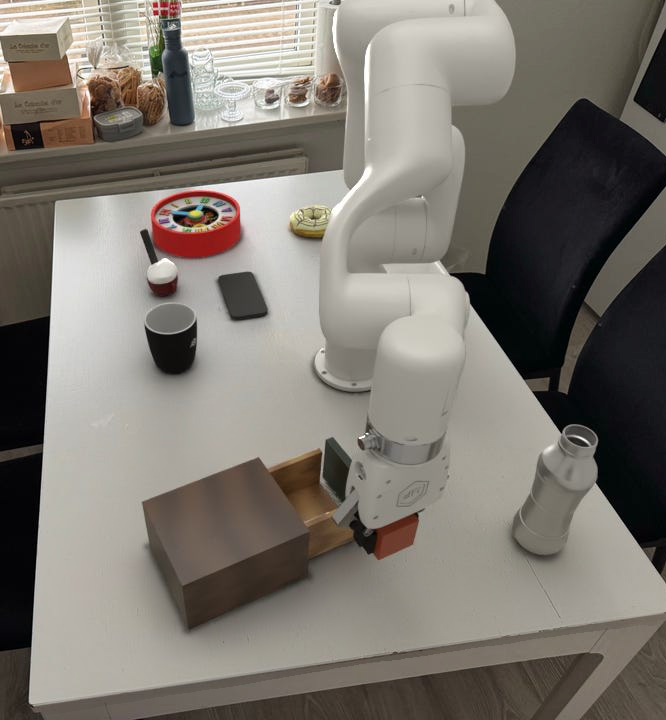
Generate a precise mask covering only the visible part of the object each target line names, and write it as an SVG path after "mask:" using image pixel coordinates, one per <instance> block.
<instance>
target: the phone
mask: <svg viewBox="0 0 666 720" xmlns="http://www.w3.org/2000/svg"><path fill="white" fill-rule="evenodd" d="M217 278H218V279H217V280H218V285H219V287H220V290H221V293H222V296H223V299H224V302H225V305H226V308H227V310H228V314H229V317H230V318H231V319H232V320H243V319H249V318H256V317H263V316H266V315H267V314H269V308H268V307H267V306H268V305H267V303H266V300H265V299H264V296H263V294H262V291H261V288H260V286H259V284H258V282H257V280H256V278H255V275H254V273H253V272H252V271H247V270H246V271H239V272H233V273H226V274H221V275H219V276H218V277H217Z"/></svg>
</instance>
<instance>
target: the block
mask: <svg viewBox="0 0 666 720" xmlns="http://www.w3.org/2000/svg"><path fill="white" fill-rule="evenodd" d="M419 523H420V519H419V518H417V517H416V516H415V514H414V513H413V514H411V515H409V516H406V517H404V518H402V519H400V520H397V521H395V522H393V523H390V524H388V525H386V526H383V527H380V528H376V529H375V531H376V533H377V538H376V543H375V548H374V552H373V556H374V557H375V559H376V560H377V561H381V560H383V559H385V558H388V557H389V556H391V555H394V554H396V553H398V552H400V551H403V550H405V549H407V548H410V547H411V546H413V545H414V544H415V539H416V535H417V531H418V528H419Z"/></svg>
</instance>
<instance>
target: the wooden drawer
mask: <svg viewBox="0 0 666 720" xmlns="http://www.w3.org/2000/svg"><path fill="white" fill-rule="evenodd" d="M352 459H353V458H351V457H350V456H349V454H348V453H347V452H346V451H345V450H344V449H343V447H342V446H341V445H340V444H339V442H338V441H337V440H336V438H335V437H334V436H331V437H328V438H326V439H325V442H324V452H323V450H322V449H321V448H320V447H319V448H315V449H314V450H311V451H309V452H308V451H307V452H305V453H303V454H299V455H298V456H295V457H293V458H290V459H288V460H285V461H283V462H280V463H277V464H275V465H273V466H271V467H266V468H267V469H268V471H269V472H270V474H271V475H272V477H273V478H274V480H275V481H276V482H277V484H278V485H279V487H280V488H281V490H282V491H283V493H284V494H285V495H286V497H287V498H288V500H289V501H290V503H291V504H292V506H293V507H294V509H295V510H296V511H297V513H298V514H299V516H300V517H301V519H302V520H303V522H304V523H305V524H306V526H307V527H308V529H309V530H310V541H309V555H308V560H310V559H313V558H315V557H317V556H319V555H321V554H324V553H326V552H328V551H331V550H333V549H335V548H338V547H340V546H342V545H345V544H347V543H349V542H351V541H353V540H354V538H353V533H354V530H352V529H351V528H350V527H348V528H342V527H337V525H336V524H335V522H334V521H333V520H332V518H331V517H332V515H333V514H334V513H335V512H336V510H337V509H338V508H339V507H340V506H339V505H338V504H336V502H335V501H334V499H333V498H332V496H330V494H329V493H328V491H327V490H326V489H325V487H324V486H323V485H322V484H321V473H322V478H323V479H324V481H325V483H326V484H327V485H328V486H329V487H330V489H331V490H332V491H333V492H334V494H335V495H336V496H337V497H338V499H339V500H340V501H341V504H342V503H343V502H344V501H345V500H346V496H345V494H346V484H347V478H348V474H349V469H350V466H351V462H352ZM322 460H323V464H322Z"/></svg>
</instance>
